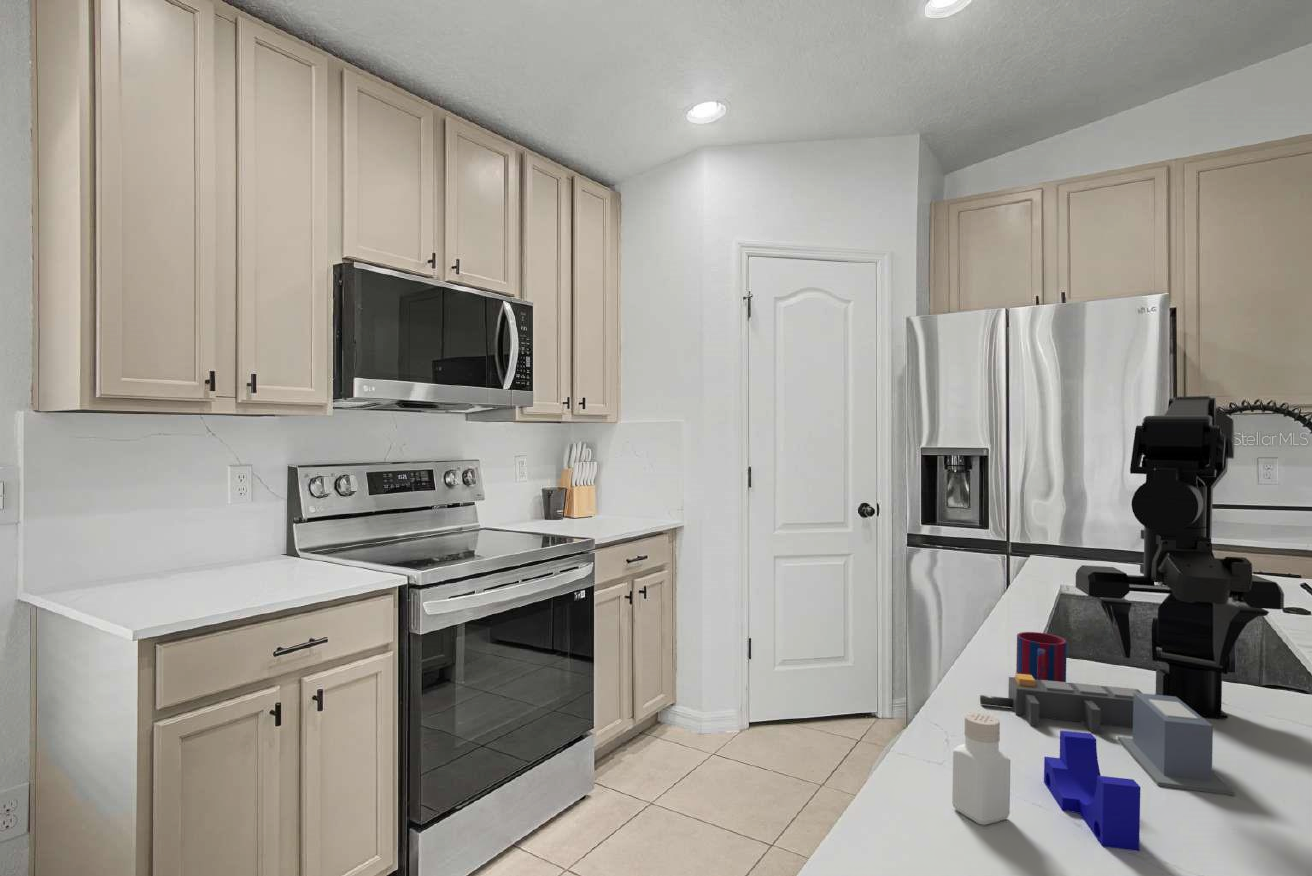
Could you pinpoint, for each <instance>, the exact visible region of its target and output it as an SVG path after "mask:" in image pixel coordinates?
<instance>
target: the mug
mask: <svg viewBox="0 0 1312 876" xmlns="http://www.w3.org/2000/svg"><path fill="white" fill-rule="evenodd" d="M1067 642H1068V641H1067V640H1066V639H1065V638H1063V637H1061V636H1057V635H1054V634H1050V633H1045V632H1036V631H1033V632H1032V631H1025V632H1023V631H1022V632H1019V633H1017V634H1016V664H1015V665H1016V666H1015V667H1016V669H1015V670H1016V671H1015V673H1017V674H1027V675H1032V677H1033V678H1034V679H1036V680H1048V681H1059V682H1067V646H1068V645H1067V644H1068V643H1067Z"/></svg>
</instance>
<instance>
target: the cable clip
mask: <svg viewBox="0 0 1312 876" xmlns="http://www.w3.org/2000/svg"><path fill="white" fill-rule="evenodd" d="M1043 759H1044V761H1043V783H1044V785H1045V787H1046V788H1047V790H1048V792H1049V793H1050V794H1051V796H1052V797H1053V799H1054V800H1055V802H1056V804H1057V805H1058V806H1059V808H1060V809H1061V811H1063V812H1071V813H1078V815H1080V817H1081V818H1082V819H1083V821H1084V822H1085V824H1086V825H1087V827H1088V828H1089V830H1090V831H1091V832H1092V834H1093V835H1094V837H1095V838H1096V840H1097V841H1098V842H1099V844H1100V846H1101V847H1104V848H1112V849H1119V850H1121V849H1122V850H1129V851H1134V852H1135V851H1136V852H1140V829H1141V828H1140V823H1141V821H1140V820H1141V786H1140V785H1139V784H1138V783H1137V782H1136V781H1135V780H1134V779H1133V778H1123V777H1114V776H1105V775H1101V772H1100V766H1099V760H1098V750H1097V738H1096V737H1095V736H1094V735H1093V733H1091V732H1080V731H1070V730H1061V729H1060V730H1059V757H1055V756H1054V757H1052V756H1044V758H1043Z"/></svg>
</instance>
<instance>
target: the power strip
mask: <svg viewBox="0 0 1312 876" xmlns="http://www.w3.org/2000/svg"><path fill="white" fill-rule="evenodd" d="M1014 675H1015V676H1014V677H1013V676H1009V677H1008V692H1007V693H1008V697H1001V696H992V695H980V696H979V702H980V705H985V706H992V707H993V706H995V707H1003V708H1004V707H1005V708H1011V709H1012V710H1013V712H1014V714H1015V715H1016V716H1024V718H1025V719H1026V721H1027V722H1028V724H1029V726H1030V727H1037V728H1039V727H1040V718H1041V719H1051V720H1060V721H1070V722H1077V721H1083V722H1084V723H1083V722H1082V723H1083V724H1084V725H1085V727H1086V728H1087V729H1088V731H1090V732H1089V733H1091V734H1099V735H1101V725H1105V726H1113V727H1126V728H1132V729H1133V695H1134V693H1143V692H1142V691H1141V690H1140V689H1138V688H1130V687H1129V688H1127V687H1120V686H1108V685H1099V684H1091V683H1090V684H1088V683H1078V682H1067V681H1066V682H1059V681H1048V680H1036V679H1034V678H1033V677H1032V675H1027V674H1017V673H1016V672H1015V673H1014Z"/></svg>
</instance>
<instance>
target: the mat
mask: <svg viewBox="0 0 1312 876" xmlns="http://www.w3.org/2000/svg"><path fill="white" fill-rule="evenodd" d="M1117 740H1118V742H1119V743H1120V744H1121V745H1122V746H1123V747H1124V748H1125V749H1124V750H1125V751H1127V752H1128V753H1129V755H1130V756H1131V757H1132V758H1133V760H1135V761H1136V763H1137V764H1138V765H1139V766H1140V767H1141V768H1142V769H1143V771H1144V772H1145V773H1146V774H1147V775H1148V776H1149V777H1150V778H1151V780H1153V782H1154V783H1155V784H1156V785H1157V786H1158V787H1165V788H1166V787H1167V788H1173V789H1181V790H1187V791H1188V790H1190V791H1196V792H1203V793H1211V794H1220V795H1228V796H1229V795H1230V796H1235V793H1236V792H1235V790H1234V789H1232V788H1231V787H1230V785H1228V784H1227V783H1226V782H1225V781H1224V780H1223V779H1221V777H1220V776H1218V774H1217V773H1215V772H1214V771H1213V770H1212V781H1206V780H1198V779H1190V778H1182V777H1173V776H1165V775H1163V774H1162V773H1161V772H1160V771H1159V769H1158V768H1157V767H1156V766H1155V765H1154V764H1153V763H1152V762H1151V761H1150V760H1149V759H1148V758H1147V757H1146V755H1145V754H1144V753H1143V752H1142V751H1141V750H1140V749H1139V748H1138V747H1137V746H1136V745H1135V744H1134V743H1133V737H1132V738H1131V737H1121V736H1118V737H1117Z"/></svg>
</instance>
